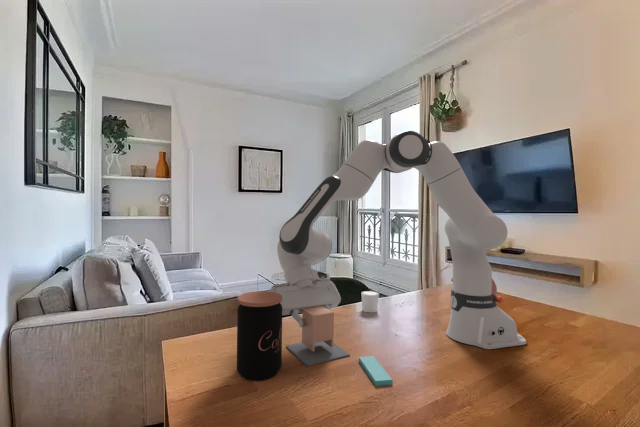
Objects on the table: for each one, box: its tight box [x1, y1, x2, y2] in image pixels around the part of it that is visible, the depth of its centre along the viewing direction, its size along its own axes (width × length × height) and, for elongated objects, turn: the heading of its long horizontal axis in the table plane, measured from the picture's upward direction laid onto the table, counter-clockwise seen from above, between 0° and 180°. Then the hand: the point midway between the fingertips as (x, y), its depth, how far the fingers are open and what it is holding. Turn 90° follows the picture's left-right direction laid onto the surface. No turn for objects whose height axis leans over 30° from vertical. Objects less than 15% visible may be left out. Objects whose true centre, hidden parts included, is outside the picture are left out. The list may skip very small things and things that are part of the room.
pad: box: [285, 341, 351, 367], centre depth 91 cm, size 13×13×1 cm
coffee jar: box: [236, 291, 283, 382], centre depth 79 cm, size 11×11×18 cm
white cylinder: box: [360, 290, 380, 313], centre depth 128 cm, size 7×7×7 cm
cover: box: [301, 306, 335, 352], centre depth 91 cm, size 6×6×10 cm
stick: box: [358, 355, 393, 387], centre depth 80 cm, size 4×12×2 cm, turn 11°
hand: (316, 323), depth 92 cm, fingers open, 6 cm apart
